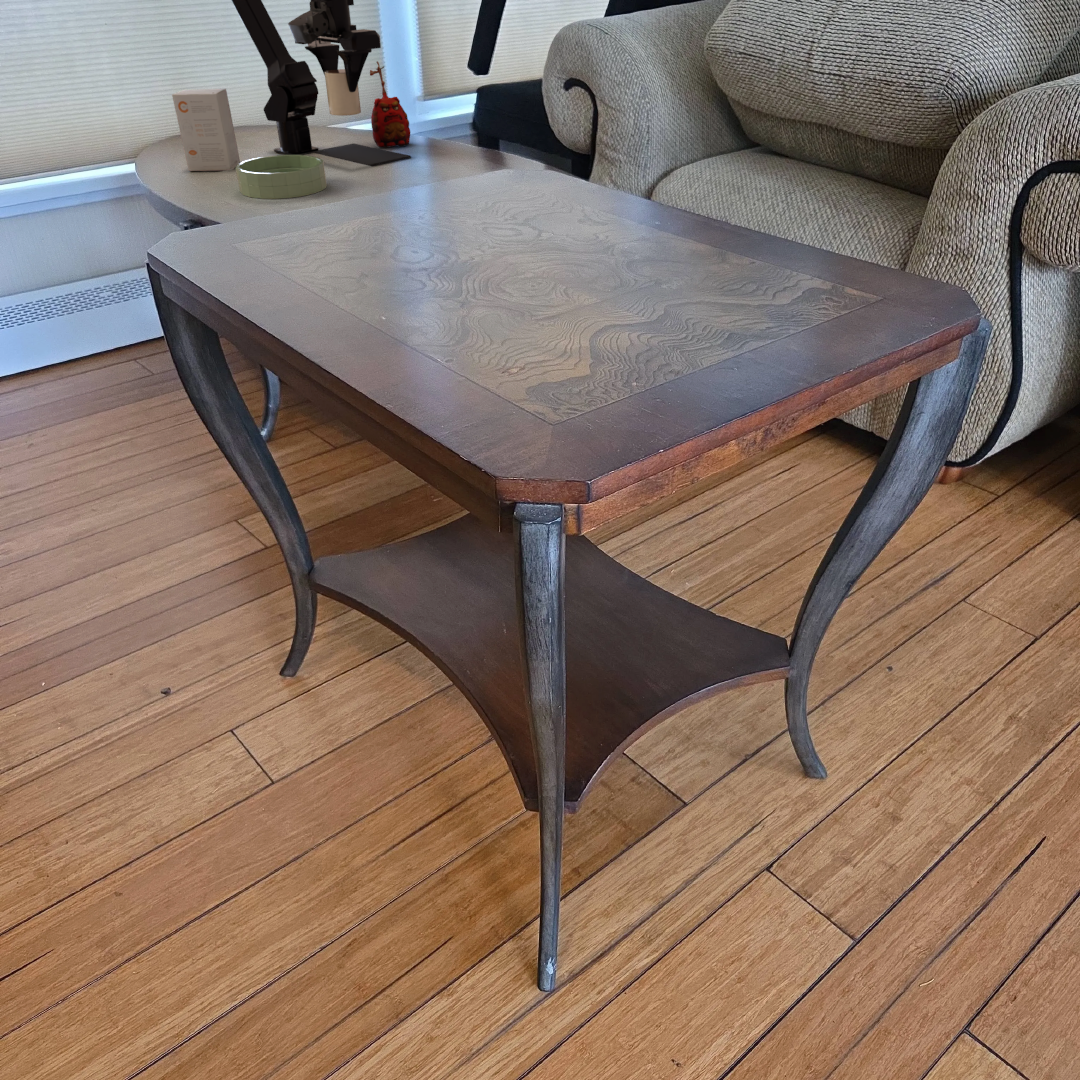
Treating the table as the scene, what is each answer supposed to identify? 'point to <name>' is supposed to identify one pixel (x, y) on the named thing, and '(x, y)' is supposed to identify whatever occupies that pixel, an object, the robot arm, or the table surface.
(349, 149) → the mat
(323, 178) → the bowl
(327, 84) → the cup
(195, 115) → the small box
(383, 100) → the red clay folk toy
